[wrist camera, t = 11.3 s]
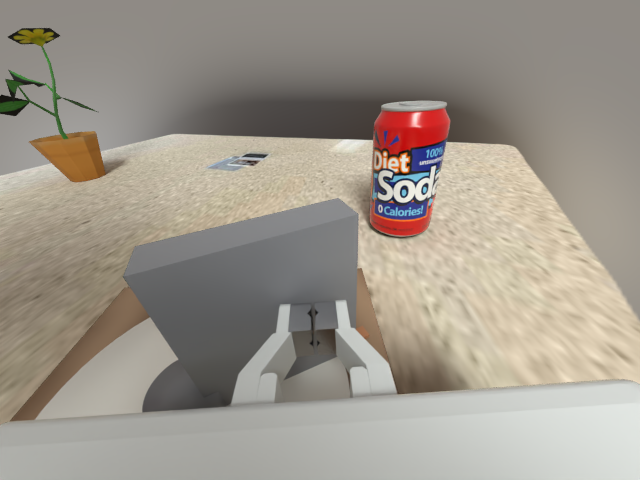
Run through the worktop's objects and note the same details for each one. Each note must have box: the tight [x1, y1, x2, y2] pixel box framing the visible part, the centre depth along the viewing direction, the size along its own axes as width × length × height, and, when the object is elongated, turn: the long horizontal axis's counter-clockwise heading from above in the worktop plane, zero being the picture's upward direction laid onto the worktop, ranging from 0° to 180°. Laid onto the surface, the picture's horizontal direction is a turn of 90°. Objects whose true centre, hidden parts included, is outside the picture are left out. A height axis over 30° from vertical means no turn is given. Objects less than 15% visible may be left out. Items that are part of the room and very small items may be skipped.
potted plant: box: [0, 28, 106, 182], centre depth 57 cm, size 18×19×30 cm
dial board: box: [10, 268, 398, 422], centre depth 15 cm, size 24×24×2 cm
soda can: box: [370, 101, 450, 237], centre depth 30 cm, size 8×8×15 cm
